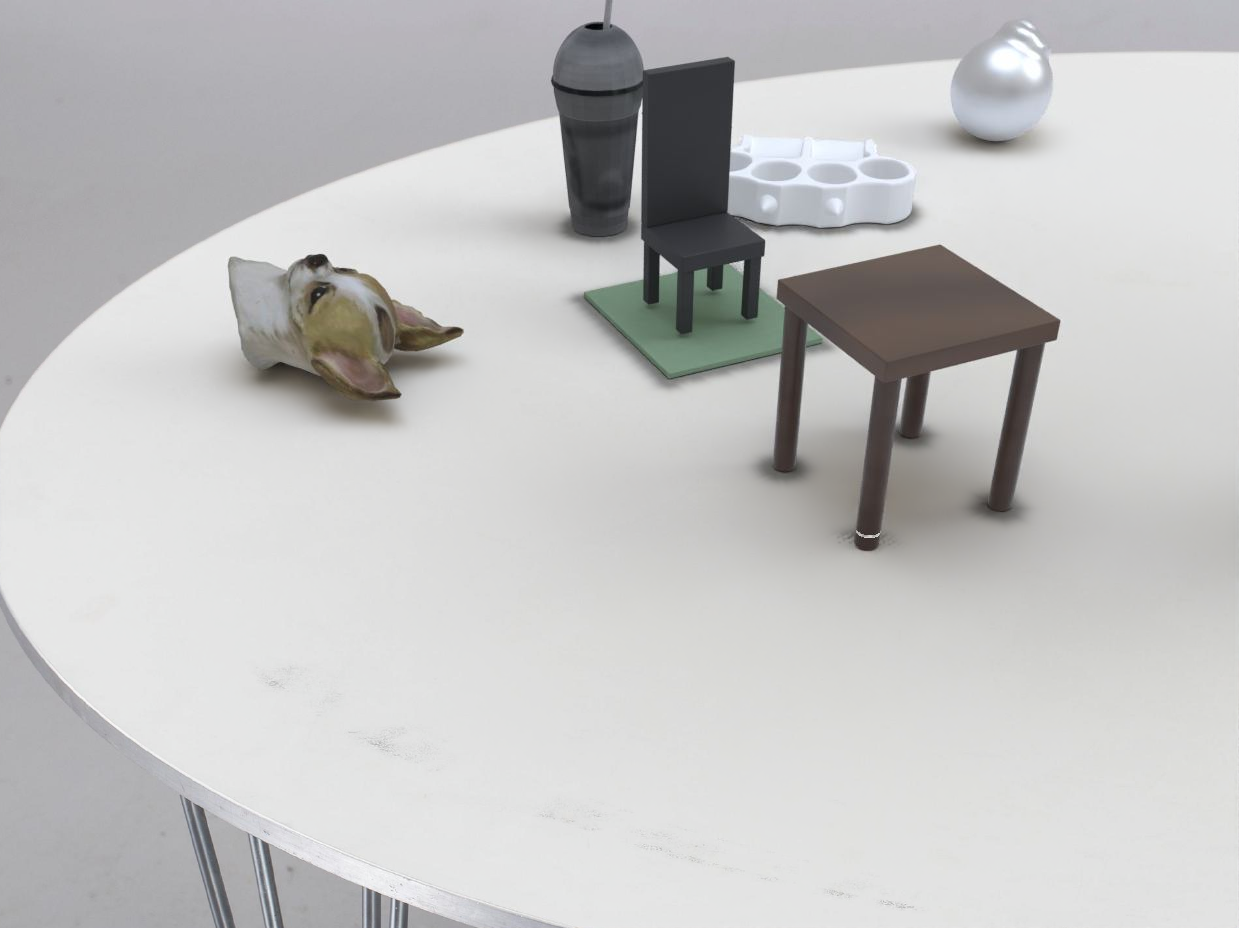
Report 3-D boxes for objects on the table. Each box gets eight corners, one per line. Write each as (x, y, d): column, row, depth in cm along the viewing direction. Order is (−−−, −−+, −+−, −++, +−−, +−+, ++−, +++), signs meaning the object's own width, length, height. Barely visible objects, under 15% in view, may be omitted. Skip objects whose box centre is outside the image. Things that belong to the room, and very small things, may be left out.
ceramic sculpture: (268, 203, 99) (466, 247, 95) (281, 318, 104) (468, 364, 100) (179, 267, 91) (390, 317, 87) (198, 387, 97) (397, 439, 93)
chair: (760, 318, 102) (776, 84, 92) (680, 336, 100) (687, 99, 90) (717, 283, 107) (728, 56, 96) (639, 299, 105) (642, 70, 94)
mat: (822, 342, 101) (822, 337, 100) (668, 379, 97) (669, 373, 97) (726, 266, 111) (726, 261, 110) (583, 296, 107) (583, 291, 107)
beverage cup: (572, 203, 121) (567, -56, 108) (655, 213, 119) (660, -49, 106) (541, 237, 115) (532, -32, 103) (628, 248, 113) (629, -24, 101)
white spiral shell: (1067, 149, 129) (1090, 32, 123) (971, 160, 127) (989, 42, 121) (1018, 116, 136) (1038, 3, 129) (926, 126, 134) (941, 12, 127)
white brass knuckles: (910, 171, 125) (912, 240, 114) (703, 162, 128) (685, 228, 116) (915, 133, 123) (917, 198, 112) (705, 124, 125) (686, 187, 114)
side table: (1021, 508, 84) (1061, 319, 77) (861, 555, 81) (886, 362, 73) (914, 422, 92) (940, 243, 84) (763, 462, 89) (777, 279, 81)
